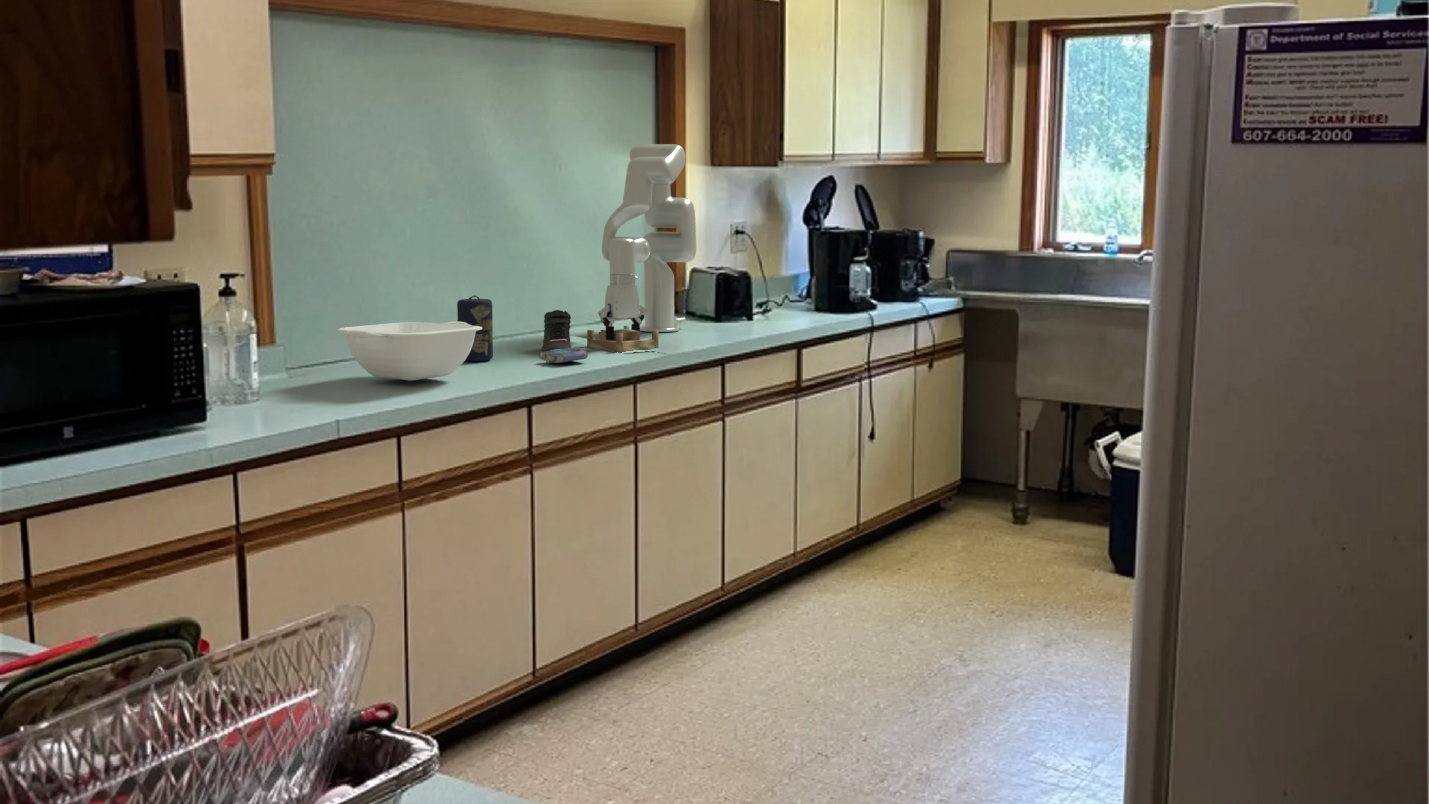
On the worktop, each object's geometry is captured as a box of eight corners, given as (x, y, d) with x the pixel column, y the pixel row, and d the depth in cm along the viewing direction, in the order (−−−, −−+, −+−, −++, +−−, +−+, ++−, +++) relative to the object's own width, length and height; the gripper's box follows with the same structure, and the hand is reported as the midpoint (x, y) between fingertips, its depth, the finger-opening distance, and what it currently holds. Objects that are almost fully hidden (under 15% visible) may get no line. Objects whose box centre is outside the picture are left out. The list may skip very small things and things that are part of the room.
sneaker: (542, 361, 379) (541, 314, 377) (536, 351, 404) (536, 308, 402) (577, 360, 380) (576, 314, 379) (569, 351, 406) (569, 307, 404)
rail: (626, 346, 416) (625, 325, 415) (630, 346, 415) (629, 325, 414) (598, 349, 406) (598, 328, 405) (602, 350, 405) (602, 328, 404)
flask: (588, 350, 374) (557, 355, 366) (588, 360, 374) (557, 366, 367) (566, 346, 380) (535, 351, 373) (567, 357, 381) (536, 362, 373)
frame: (626, 347, 416) (626, 327, 415) (659, 351, 405) (659, 330, 404) (586, 350, 406) (585, 330, 405) (618, 354, 395) (618, 333, 394)
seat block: (624, 349, 411) (624, 328, 410) (639, 351, 405) (639, 330, 405) (606, 351, 406) (606, 330, 405) (621, 353, 401) (621, 331, 400)
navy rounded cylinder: (464, 363, 371) (462, 297, 369) (453, 360, 380) (452, 294, 377) (498, 361, 376) (496, 296, 373) (487, 358, 384) (485, 294, 382)
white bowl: (422, 366, 365) (421, 318, 363) (501, 374, 349) (500, 324, 347) (319, 379, 337) (317, 327, 335) (400, 388, 321) (398, 334, 319)
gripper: (637, 279, 411) (637, 336, 413) (591, 281, 399) (591, 339, 402) (653, 280, 406) (653, 337, 408) (607, 282, 394) (607, 341, 396)
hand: (622, 338), depth 405 cm, fingers open, 9 cm apart
